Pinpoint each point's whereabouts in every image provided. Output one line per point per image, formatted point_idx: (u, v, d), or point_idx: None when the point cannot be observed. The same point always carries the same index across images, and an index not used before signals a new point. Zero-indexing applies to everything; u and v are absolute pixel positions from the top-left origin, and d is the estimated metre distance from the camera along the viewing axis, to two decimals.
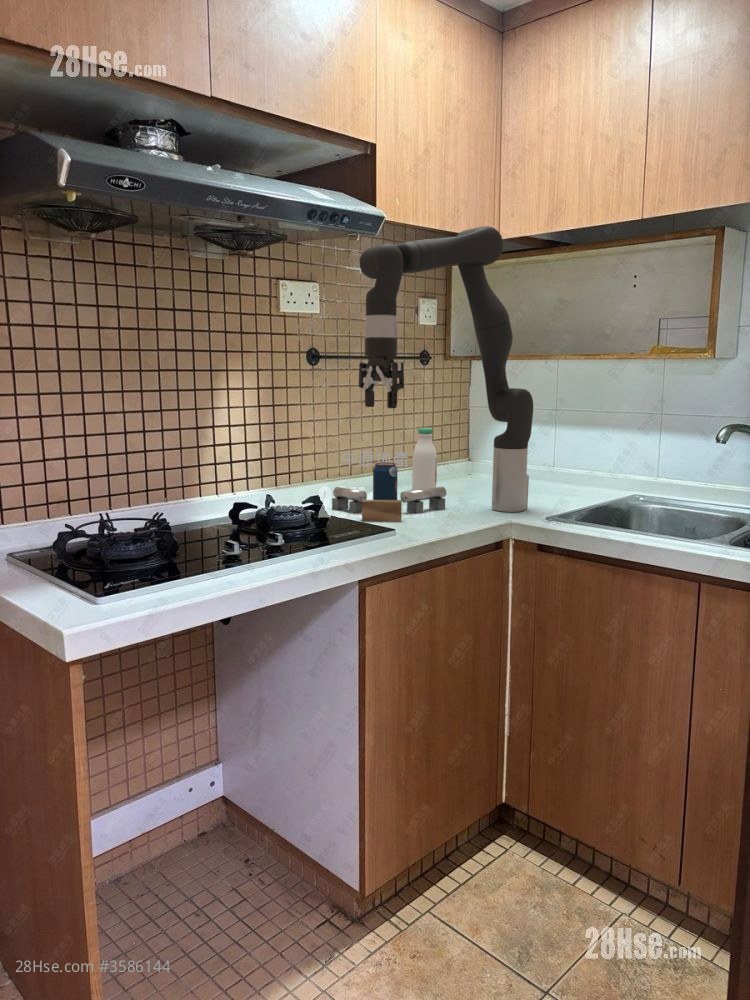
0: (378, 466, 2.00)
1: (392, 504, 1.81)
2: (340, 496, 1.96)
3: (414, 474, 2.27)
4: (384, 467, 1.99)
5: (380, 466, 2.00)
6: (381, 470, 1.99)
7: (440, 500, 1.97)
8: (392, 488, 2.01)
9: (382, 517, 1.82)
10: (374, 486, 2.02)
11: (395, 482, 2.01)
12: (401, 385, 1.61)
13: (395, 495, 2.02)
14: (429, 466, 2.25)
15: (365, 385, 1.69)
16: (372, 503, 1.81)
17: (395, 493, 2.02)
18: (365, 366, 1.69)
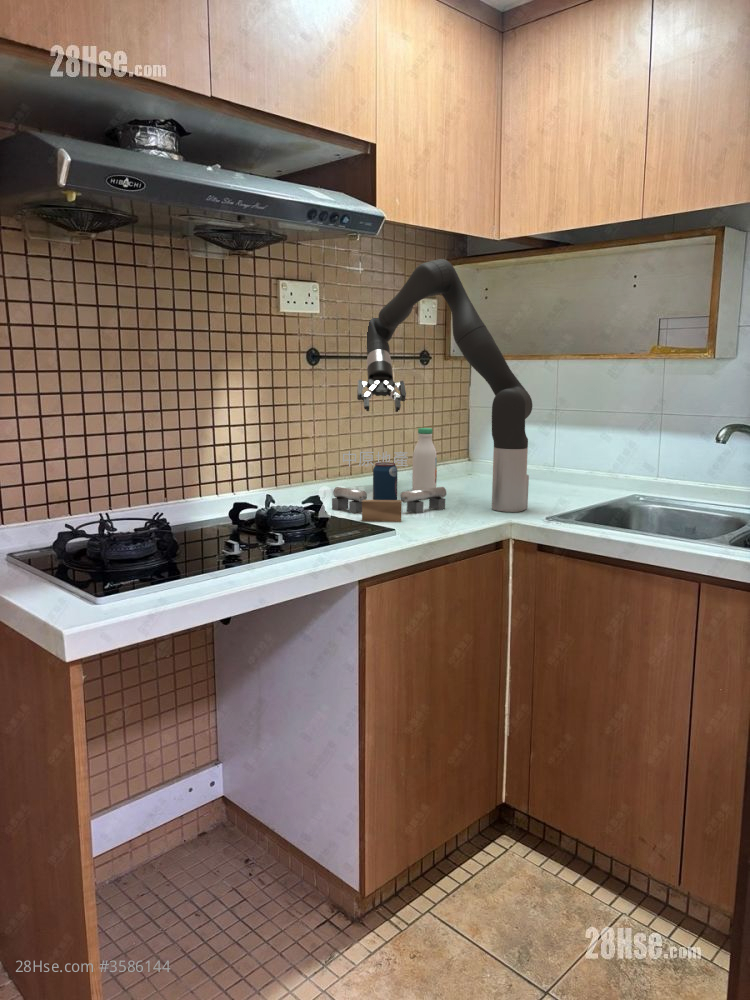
0: (378, 466, 2.00)
1: (392, 504, 1.81)
2: (340, 496, 1.96)
3: (414, 474, 2.27)
4: (384, 467, 1.99)
5: (380, 466, 2.00)
6: (381, 470, 1.99)
7: (440, 500, 1.97)
8: (392, 488, 2.01)
9: (382, 517, 1.82)
10: (374, 486, 2.02)
11: (395, 482, 2.01)
12: (357, 394, 2.09)
13: (395, 495, 2.02)
14: (429, 466, 2.25)
15: None
16: (372, 503, 1.81)
17: (395, 493, 2.02)
18: None
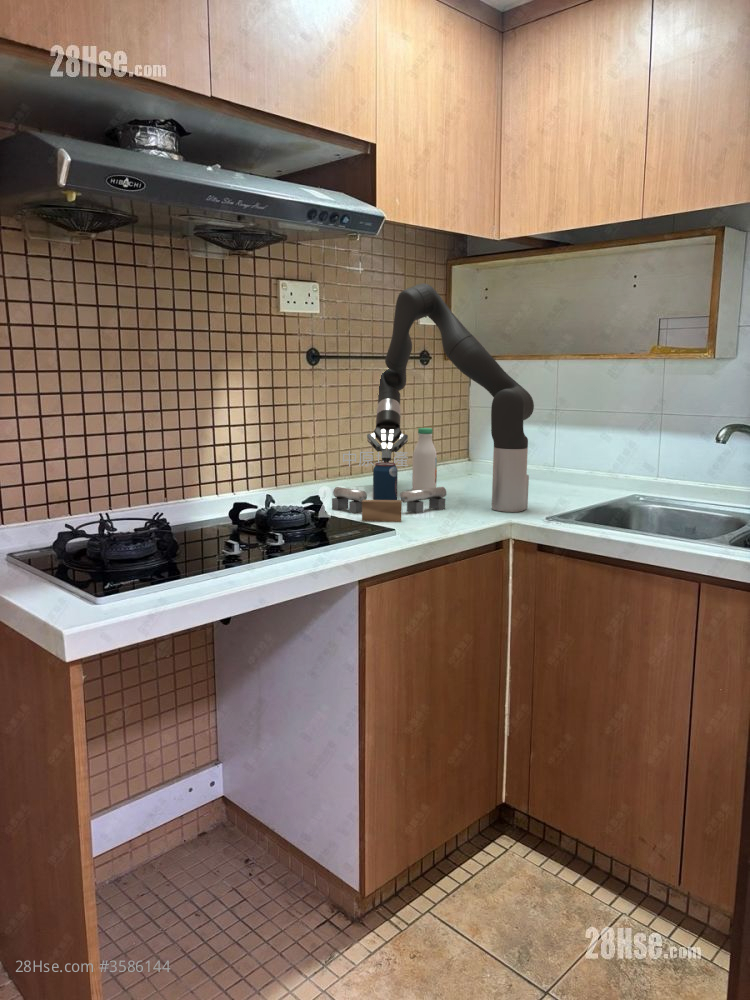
0: (378, 466, 2.00)
1: (392, 504, 1.81)
2: (340, 496, 1.96)
3: (414, 474, 2.27)
4: (384, 467, 1.99)
5: (380, 466, 2.00)
6: (381, 470, 1.99)
7: (440, 500, 1.97)
8: (392, 488, 2.00)
9: (382, 517, 1.82)
10: (374, 486, 2.02)
11: (395, 482, 2.01)
12: None
13: (395, 495, 2.02)
14: (429, 466, 2.25)
15: None
16: (372, 503, 1.81)
17: (395, 493, 2.02)
18: None
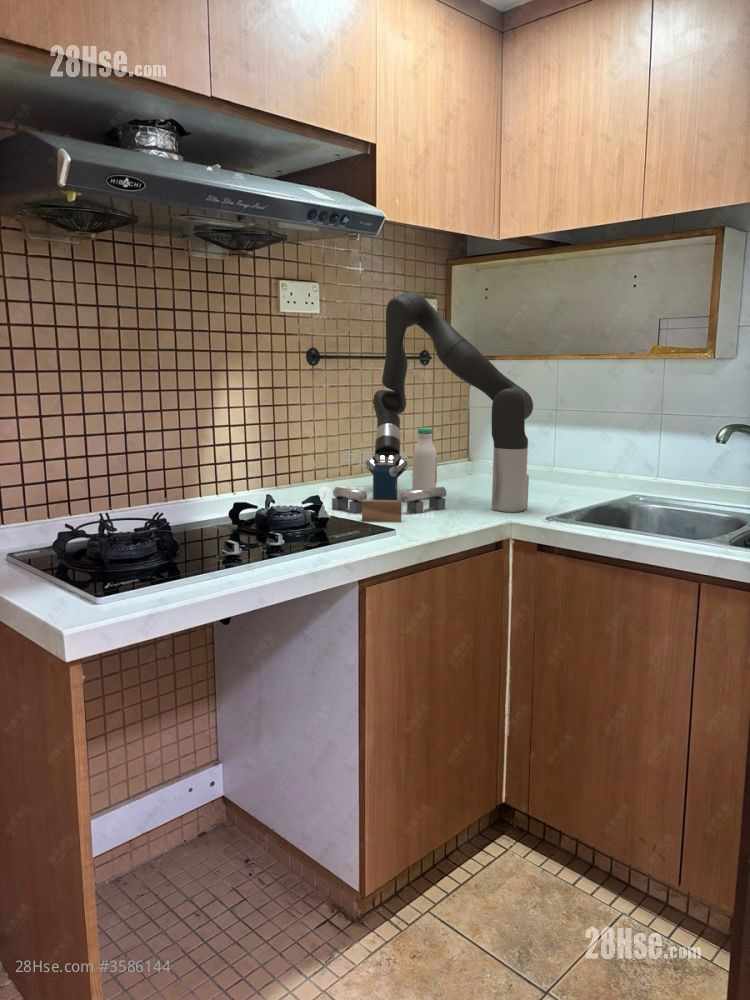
0: (378, 466, 2.00)
1: (392, 504, 1.81)
2: (340, 496, 1.96)
3: (414, 474, 2.27)
4: (384, 467, 1.99)
5: (380, 466, 1.99)
6: (381, 470, 1.99)
7: (440, 500, 1.97)
8: (392, 488, 2.00)
9: (382, 517, 1.82)
10: (374, 486, 2.01)
11: (395, 482, 2.01)
12: None
13: (395, 495, 2.02)
14: (429, 466, 2.25)
15: None
16: (372, 503, 1.81)
17: (395, 493, 2.01)
18: None
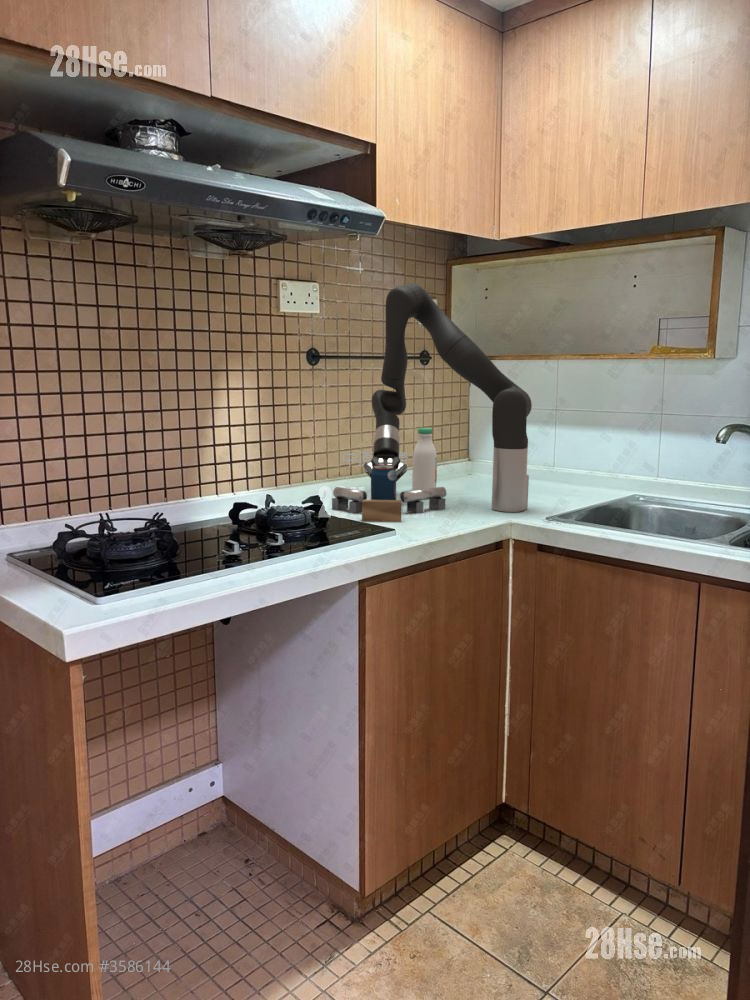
0: (376, 470, 1.92)
1: (392, 504, 1.81)
2: (340, 496, 1.96)
3: (414, 474, 2.27)
4: (382, 471, 1.91)
5: (378, 470, 1.92)
6: (379, 474, 1.91)
7: (440, 500, 1.97)
8: (391, 492, 1.93)
9: (382, 517, 1.82)
10: (372, 490, 1.94)
11: (394, 486, 1.94)
12: None
13: (394, 499, 1.95)
14: (429, 466, 2.25)
15: None
16: (372, 503, 1.81)
17: (394, 497, 1.94)
18: None
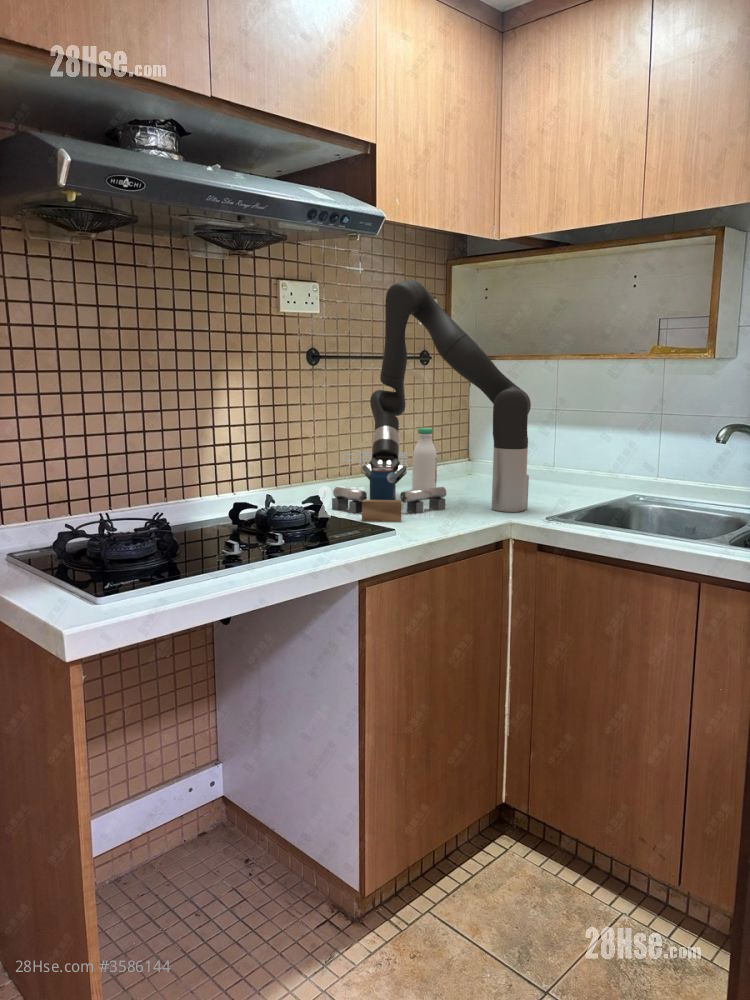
0: (375, 472, 1.88)
1: (392, 504, 1.81)
2: (340, 496, 1.96)
3: (414, 474, 2.27)
4: (381, 473, 1.87)
5: (377, 472, 1.87)
6: (378, 476, 1.87)
7: (440, 500, 1.97)
8: (390, 494, 1.89)
9: (382, 517, 1.82)
10: (371, 493, 1.90)
11: (393, 488, 1.89)
12: None
13: None
14: (429, 466, 2.25)
15: None
16: (372, 503, 1.81)
17: None
18: None
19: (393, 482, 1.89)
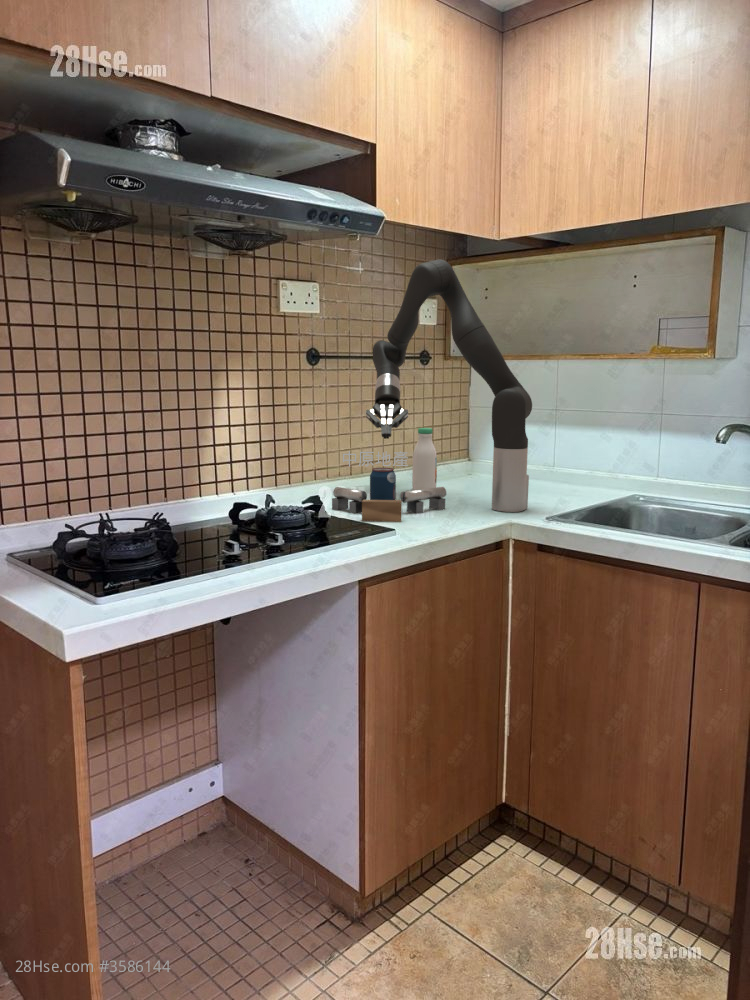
0: (375, 472, 1.89)
1: (392, 504, 1.81)
2: (340, 496, 1.96)
3: (414, 474, 2.27)
4: (382, 472, 1.88)
5: (377, 472, 1.89)
6: (378, 476, 1.88)
7: (440, 500, 1.97)
8: (390, 494, 1.89)
9: (382, 517, 1.82)
10: (371, 493, 1.90)
11: (393, 488, 1.90)
12: None
13: None
14: (429, 466, 2.25)
15: None
16: (372, 503, 1.81)
17: None
18: None
19: (393, 482, 1.90)
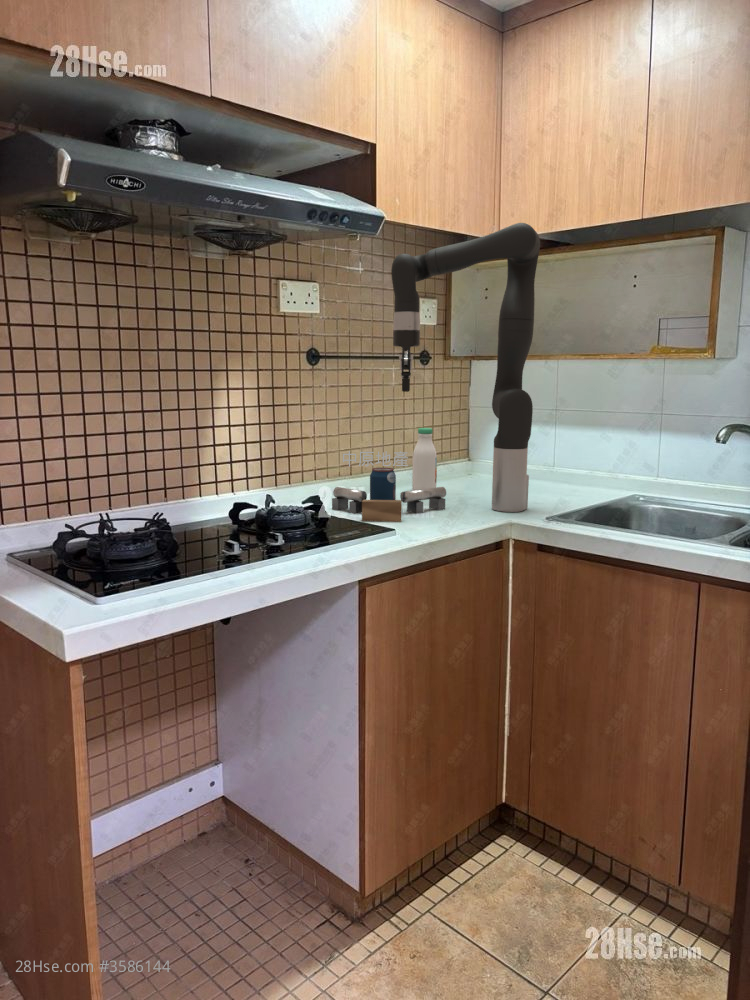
0: (375, 472, 1.89)
1: (392, 504, 1.81)
2: (340, 496, 1.96)
3: (414, 474, 2.27)
4: (382, 472, 1.88)
5: (377, 472, 1.89)
6: (378, 476, 1.88)
7: (440, 500, 1.97)
8: (390, 494, 1.89)
9: (382, 517, 1.82)
10: (371, 493, 1.90)
11: (393, 488, 1.90)
12: (407, 373, 2.00)
13: None
14: (429, 466, 2.25)
15: None
16: (372, 503, 1.81)
17: None
18: None
19: (393, 482, 1.90)
